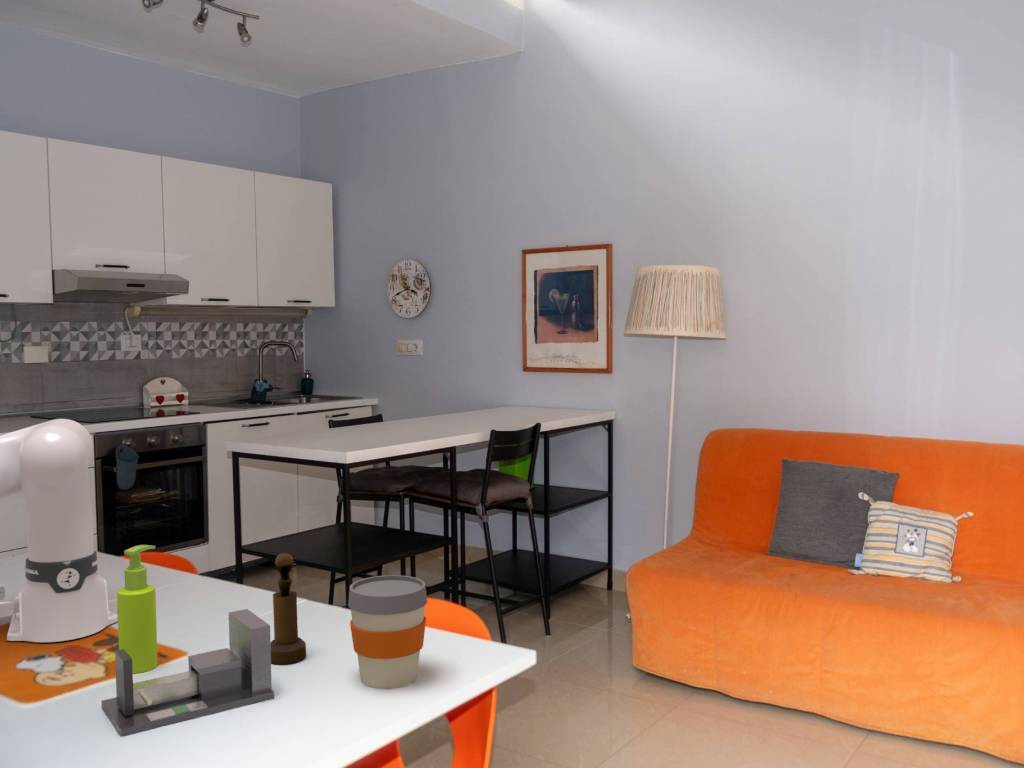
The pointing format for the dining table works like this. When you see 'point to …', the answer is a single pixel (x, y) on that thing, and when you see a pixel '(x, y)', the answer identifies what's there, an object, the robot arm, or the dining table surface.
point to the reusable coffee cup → (388, 628)
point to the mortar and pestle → (286, 618)
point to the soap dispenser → (137, 614)
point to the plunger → (150, 686)
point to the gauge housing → (213, 680)
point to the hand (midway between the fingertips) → (8, 599)
